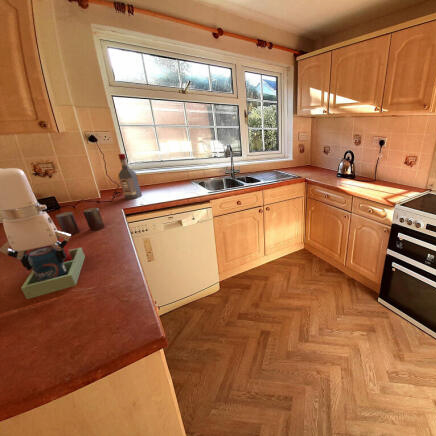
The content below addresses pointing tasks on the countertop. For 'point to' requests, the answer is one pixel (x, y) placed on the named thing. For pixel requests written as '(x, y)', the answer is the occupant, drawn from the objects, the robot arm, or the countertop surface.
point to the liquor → (128, 180)
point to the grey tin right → (93, 219)
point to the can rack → (73, 269)
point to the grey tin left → (68, 223)
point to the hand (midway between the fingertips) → (47, 263)
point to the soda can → (46, 263)
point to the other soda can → (68, 255)
